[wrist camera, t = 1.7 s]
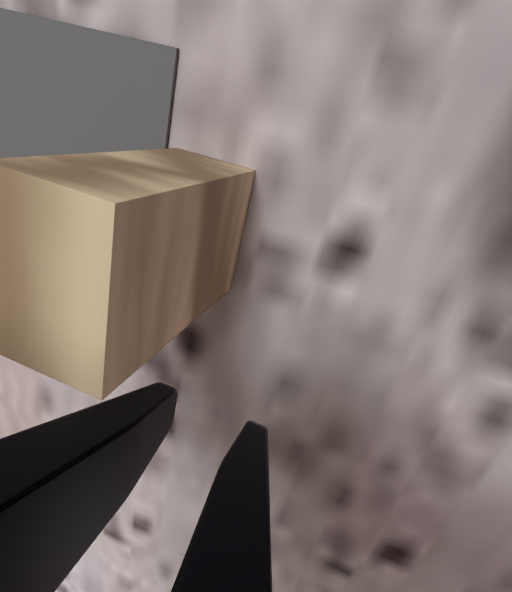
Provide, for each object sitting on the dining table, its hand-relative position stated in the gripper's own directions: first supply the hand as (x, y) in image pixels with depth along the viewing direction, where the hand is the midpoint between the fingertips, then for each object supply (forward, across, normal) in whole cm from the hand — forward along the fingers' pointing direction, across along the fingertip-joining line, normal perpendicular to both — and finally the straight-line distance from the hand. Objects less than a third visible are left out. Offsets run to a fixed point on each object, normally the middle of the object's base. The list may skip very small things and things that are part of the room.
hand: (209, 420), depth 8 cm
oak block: (+12, +6, 0) cm, 14 cm away
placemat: (+12, +14, 0) cm, 19 cm away
